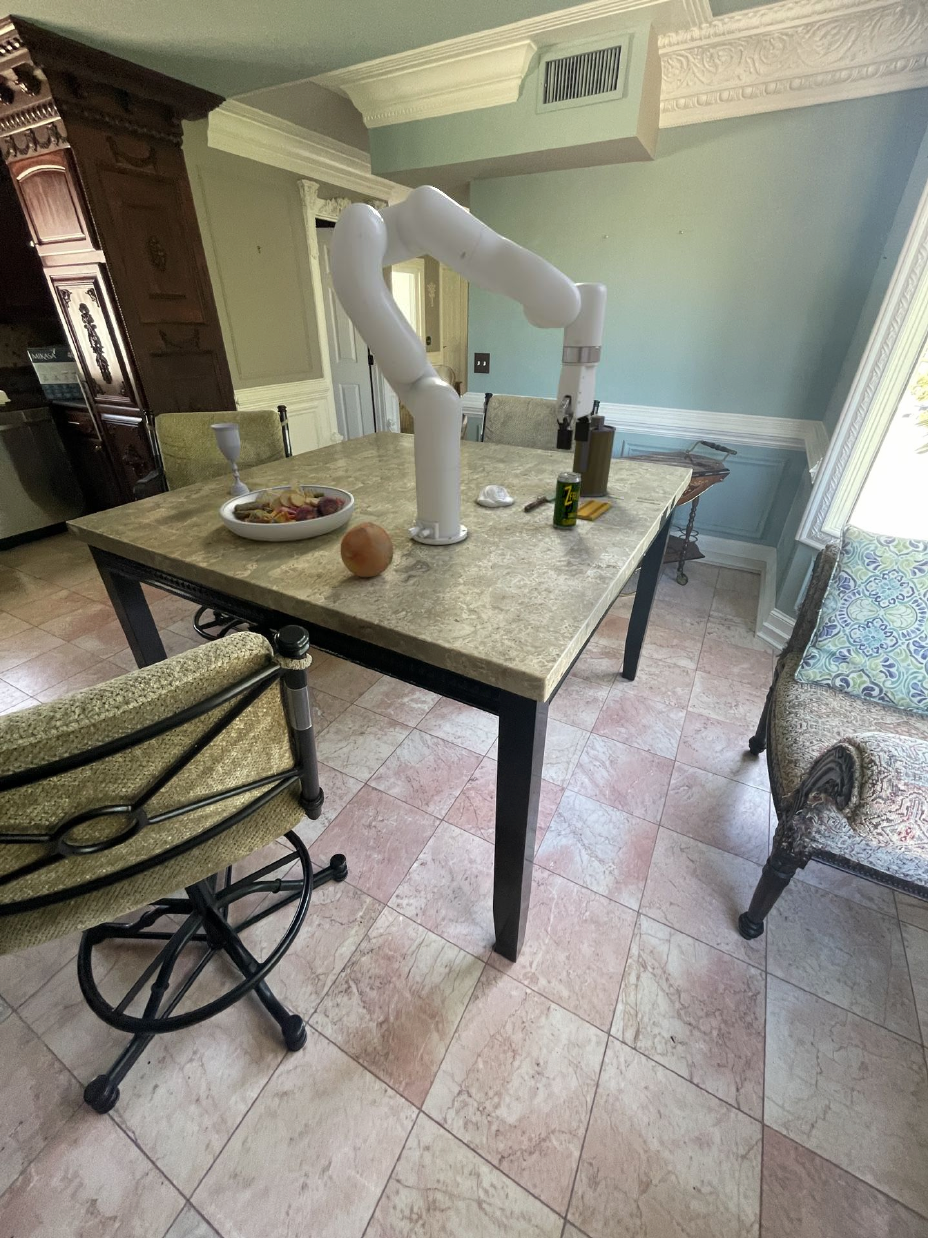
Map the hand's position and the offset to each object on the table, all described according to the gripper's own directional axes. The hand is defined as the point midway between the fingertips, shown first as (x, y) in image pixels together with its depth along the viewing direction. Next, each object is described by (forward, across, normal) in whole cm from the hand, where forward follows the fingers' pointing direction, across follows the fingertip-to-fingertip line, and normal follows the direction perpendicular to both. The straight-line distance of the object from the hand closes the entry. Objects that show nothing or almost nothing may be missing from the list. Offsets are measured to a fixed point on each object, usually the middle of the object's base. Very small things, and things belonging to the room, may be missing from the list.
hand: (572, 444), depth 109 cm
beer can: (+18, +1, 0) cm, 18 cm away
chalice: (+17, +25, -88) cm, 93 cm away
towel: (+18, -13, +1) cm, 23 cm away
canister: (+19, -29, -6) cm, 35 cm away
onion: (+18, +46, -20) cm, 53 cm away
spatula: (+18, -12, -12) cm, 25 cm away
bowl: (+18, +34, -55) cm, 67 cm away
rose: (+18, -6, -23) cm, 30 cm away
